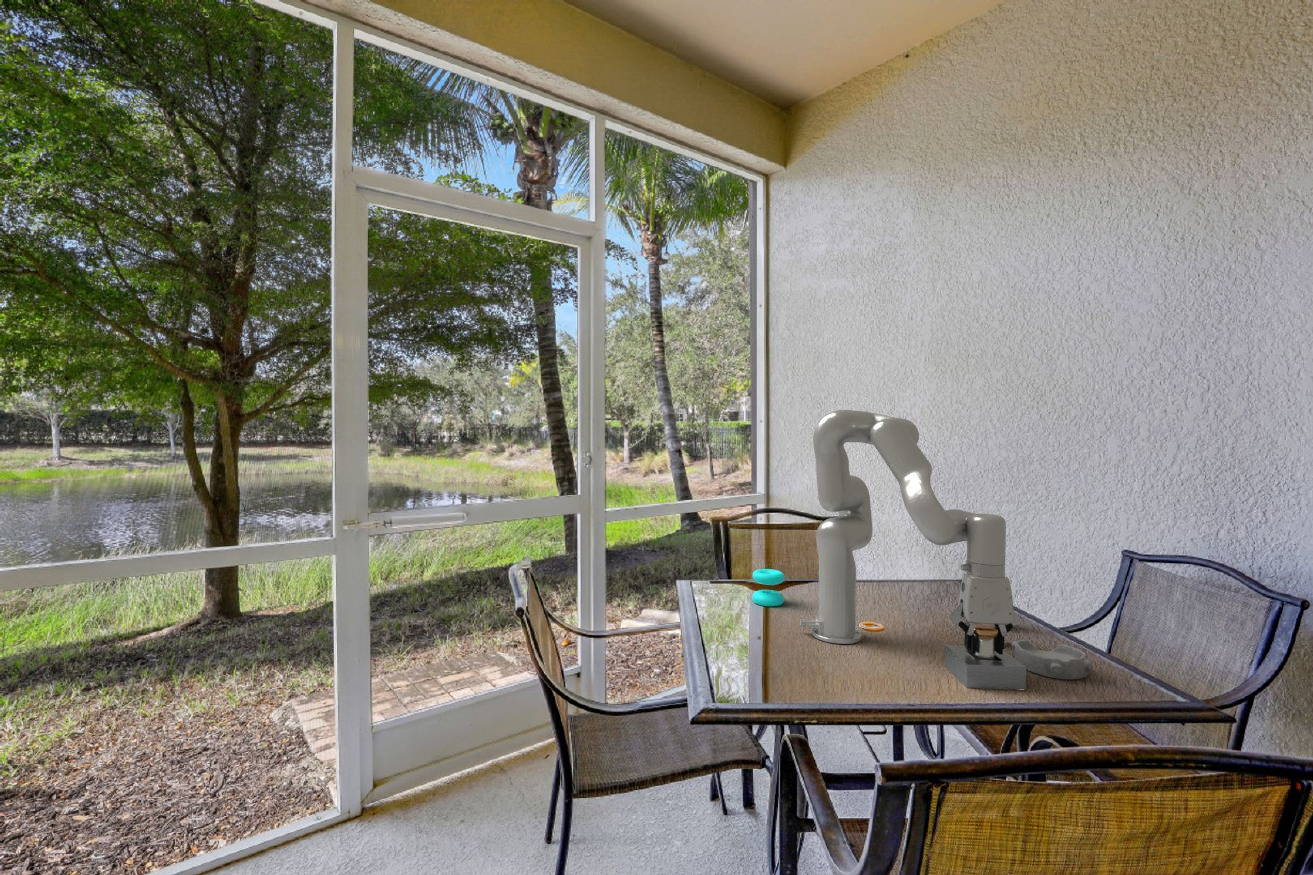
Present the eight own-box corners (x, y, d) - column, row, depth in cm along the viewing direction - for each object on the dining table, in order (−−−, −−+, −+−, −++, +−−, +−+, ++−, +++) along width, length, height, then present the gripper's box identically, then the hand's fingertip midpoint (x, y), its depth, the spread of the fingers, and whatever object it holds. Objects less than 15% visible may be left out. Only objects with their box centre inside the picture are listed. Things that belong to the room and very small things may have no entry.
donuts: (788, 575, 187) (757, 575, 186) (788, 607, 188) (756, 607, 186) (778, 567, 197) (749, 568, 196) (778, 598, 197) (748, 598, 196)
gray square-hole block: (966, 687, 129) (967, 664, 129) (944, 666, 141) (945, 644, 141) (1025, 690, 128) (1026, 667, 128) (998, 668, 140) (999, 647, 140)
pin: (976, 682, 132) (977, 631, 132) (965, 672, 137) (966, 623, 137) (1002, 683, 132) (1003, 631, 132) (990, 673, 137) (991, 624, 137)
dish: (1003, 658, 148) (1003, 637, 147) (1061, 659, 147) (1061, 639, 147) (1038, 682, 133) (1039, 659, 133) (1103, 684, 133) (1104, 661, 133)
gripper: (953, 572, 131) (951, 656, 131) (1035, 575, 130) (1033, 659, 130) (939, 565, 139) (937, 644, 139) (1016, 567, 138) (1014, 647, 138)
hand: (984, 650), depth 135 cm, fingers closed on pin, 5 cm apart
